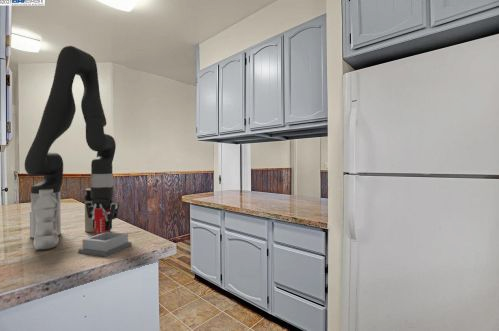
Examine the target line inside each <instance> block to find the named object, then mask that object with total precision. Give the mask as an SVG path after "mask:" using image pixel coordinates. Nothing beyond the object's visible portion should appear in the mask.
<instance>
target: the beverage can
mask: <svg viewBox="0 0 499 331" xmlns="http://www.w3.org/2000/svg"><path fill="white" fill-rule="evenodd" d="M105 211H106V210H105ZM106 212H110V209H109V210H107V211H106ZM108 217H109V214H108ZM105 221H106V220H105V216H103V210H102V208H95V210H94V227H95V232H94V236H95V235H98V234H101V233H104V232H111V230H109V231H105Z"/></svg>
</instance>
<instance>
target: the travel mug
mask: <svg viewBox="0 0 499 331" xmlns="http://www.w3.org/2000/svg"><path fill="white" fill-rule="evenodd" d="M84 191H86V194H85V196H84V232H86V233H95V230H94V229H93V220H92V219H91V218H88V214H87V209H86V203H89V202H92V201H93V199H92V198H91V187H89V188H85V190H84ZM91 214H92V211H91Z"/></svg>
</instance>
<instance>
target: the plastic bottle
mask: <svg viewBox="0 0 499 331" xmlns="http://www.w3.org/2000/svg"><path fill="white" fill-rule="evenodd" d="M52 195H54V193H53V189H43V190H39V196H40V198H39V199H38V200H37V201H36V203H35V204H34V211H35V217H36V232H35V237H34V238H33V247H34V248H35V249H36V250H48V249H52V248H56V247H57V245H59V239H60V238H59V235H58V233H57V225H56V222H57V221H56V220H57V212H58V206H59V204H58V202H57V200H56V199H55V198H54V197H53V196H52Z"/></svg>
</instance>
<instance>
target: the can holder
mask: <svg viewBox="0 0 499 331" xmlns="http://www.w3.org/2000/svg"><path fill="white" fill-rule="evenodd" d="M131 246H132V241H129V234H128V233H125V232H123V233H122V232H121V233H120V232H113V231H112V232H111V231H110V232H104V233H101V234H98V235H95V234H94V235H93V236H89V237H85V238H83V239H82V247H81V248H78V254H83V255H84V254H85V255H91V256H92V255H93V256H100V257H101V256H102V257H108V256H110V255H112V254H114V253H115V254H116V253H117V252H119V251H121V250H124V249H126V248H128V247H131Z"/></svg>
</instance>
